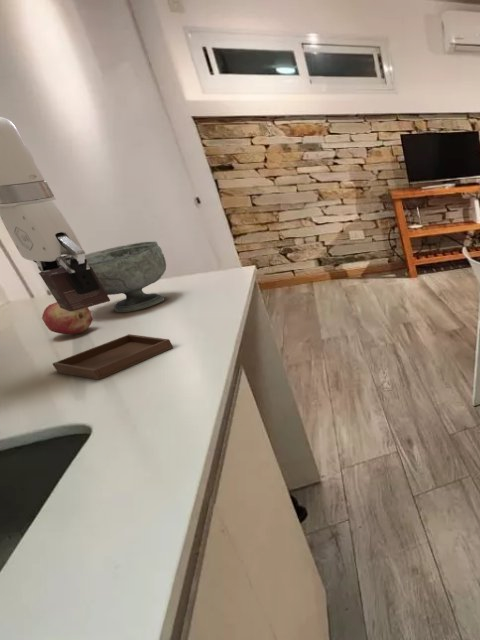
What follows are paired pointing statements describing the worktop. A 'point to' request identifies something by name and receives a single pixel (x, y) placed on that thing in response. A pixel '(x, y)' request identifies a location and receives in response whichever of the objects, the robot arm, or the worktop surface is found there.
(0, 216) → the robot arm
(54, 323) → the fruit
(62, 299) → the box
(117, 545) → the worktop surface
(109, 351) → the desk tray
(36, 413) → the worktop surface
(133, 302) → the bowl
